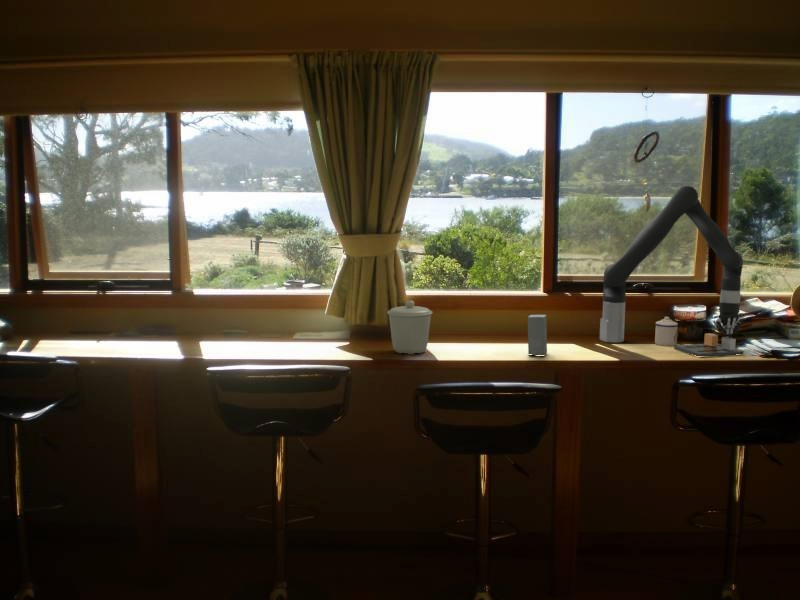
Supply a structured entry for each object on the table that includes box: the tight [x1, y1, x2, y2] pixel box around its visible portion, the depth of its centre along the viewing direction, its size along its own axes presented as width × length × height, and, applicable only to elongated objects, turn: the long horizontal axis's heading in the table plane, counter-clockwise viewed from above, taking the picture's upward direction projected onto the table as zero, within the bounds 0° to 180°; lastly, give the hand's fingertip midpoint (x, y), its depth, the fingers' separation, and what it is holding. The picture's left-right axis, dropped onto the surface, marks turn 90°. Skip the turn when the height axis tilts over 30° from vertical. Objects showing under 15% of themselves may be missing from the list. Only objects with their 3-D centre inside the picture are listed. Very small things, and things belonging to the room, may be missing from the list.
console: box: [673, 343, 745, 357], centre depth 282 cm, size 20×17×2 cm
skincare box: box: [527, 314, 548, 356], centre depth 276 cm, size 8×7×16 cm
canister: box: [386, 300, 433, 355], centre depth 281 cm, size 18×18×21 cm
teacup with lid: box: [654, 316, 679, 347], centre depth 298 cm, size 12×9×12 cm
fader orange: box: [703, 332, 719, 346], centre depth 286 cm, size 3×5×5 cm, turn 13°
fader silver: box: [721, 336, 737, 350], centre depth 279 cm, size 3×5×5 cm, turn 13°
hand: (727, 342), depth 288 cm, fingers closed
